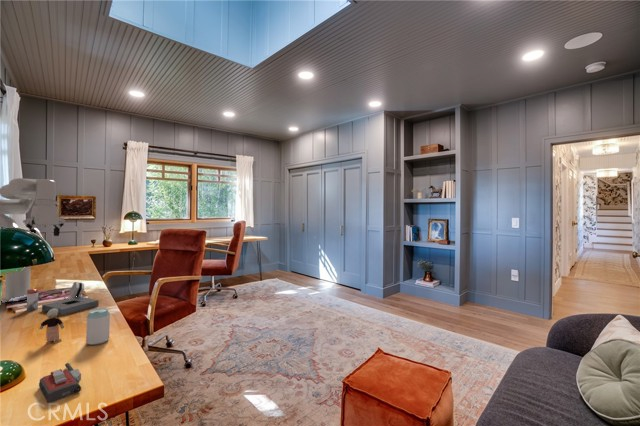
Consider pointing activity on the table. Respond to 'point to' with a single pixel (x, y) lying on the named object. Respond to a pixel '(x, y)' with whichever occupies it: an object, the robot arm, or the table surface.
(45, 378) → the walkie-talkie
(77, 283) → the grey curved electronic device
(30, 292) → the pin
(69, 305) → the socket block
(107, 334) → the can
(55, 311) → the grandmother figurine
